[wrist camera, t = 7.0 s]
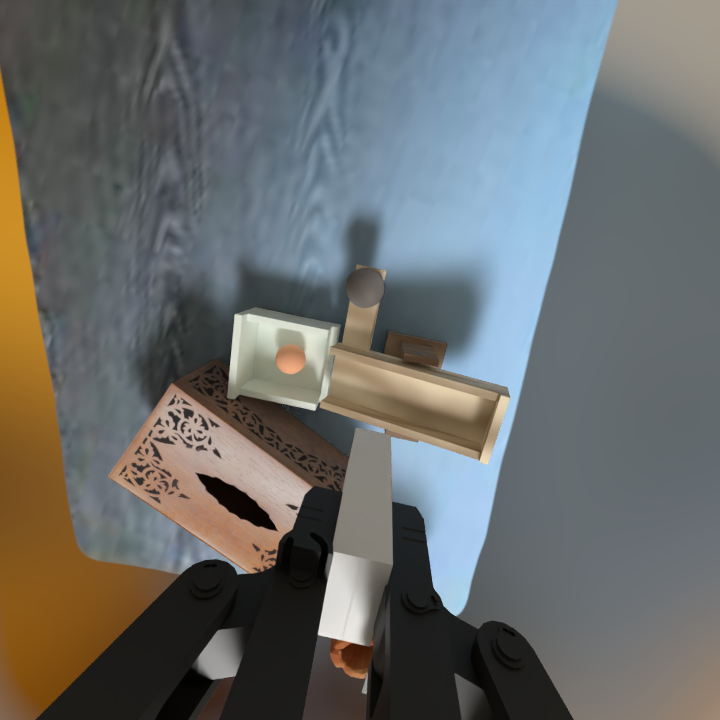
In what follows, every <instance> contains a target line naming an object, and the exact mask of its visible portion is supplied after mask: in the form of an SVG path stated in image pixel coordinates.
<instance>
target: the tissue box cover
mask: <svg viewBox="0 0 720 720" xmlns="http://www.w3.org/2000/svg"><path fill="white" fill-rule="evenodd" d="M229 372H230V367H229V366H227V365H226V364H225V363H223V362H222V361H221V360H219V359H218V358H216V359H214V360H212V361H211V362H209V363H207V364H205V365H203V366H202V367H200V368H198V369H196V370H194V371H193V372H191V373H189V374H187V375H185V376H184V377H182V378H180V379H178V380H176V381H175V382H173V383H172V384H171V385H170V387H169V388H168V389H167V391H166V392H165V394H164V395H163V397H162V398H161V400H160V401H159V403H158V404H157V406H156V407H155V408H154V410H153V411H152V413H151V414H150V416H149V417H148V419H147V420H146V422H145V423H144V425H143V426H142V427H141V429H140V430H139V432H138V433H137V435H136V436H135V438H134V439H133V441H132V442H131V444H130V445H129V447H128V448H127V449H126V451H125V452H124V454H123V455H122V457H121V458H120V460H119V461H118V463H117V464H116V466H115V467H114V468H113V470H112V471H111V473H110V474H109V476H108V477H109V478H111V479H112V480H114V481H115V482H117V483H118V484H120V485H121V486H122V487H124V488H125V489H127V490H128V491H130V492H131V493H133V494H134V495H136V496H137V497H138V498H140V499H141V500H143V501H144V502H146V503H147V504H149V505H150V506H152V507H153V508H154V509H156V510H157V511H159V512H160V513H162V514H163V515H165V516H166V517H168V518H169V519H170V520H172V521H173V522H175V523H176V524H178V525H179V526H181V527H182V528H184V529H185V530H186V531H188V532H189V533H191V534H192V535H194V536H195V537H197V538H198V539H200V540H201V541H202V542H204V543H205V544H207V545H208V546H210V547H211V548H213V549H214V550H216V551H217V552H219V553H220V554H221V555H223V556H224V557H226V558H227V559H229V560H230V561H232V562H233V563H235V564H236V565H237V566H239V567H240V568H242V569H243V570H245V571H246V572H248V573H249V574H251V573H257V572H262V571H264V570H267V569H269V568H271V567H272V566H274V565H275V563H276V557H277V551H278V545H279V541H280V540H281V539H282V537H283V536H284V534H286V533H288V532H289V531H291V530H292V529H293V526H294V523H295V521H296V518H297V515H298V512H299V509H300V507H301V504H302V501H303V498H304V495H305V494H306V493H307V492H308V491H309V490H310V489H311V488H312V487H314V486H318V487H322V488H327V489H331V490H336V491H340V492H342V490H343V485H344V480H345V475H346V471H347V466H348V461H349V458H348V457H347V456H346V455H344V454H343V453H342V452H340V451H339V450H338V449H336V448H335V447H334V446H332V445H331V444H330V443H329V442H327V441H326V440H325V439H323V438H322V437H321V436H319V435H318V434H317V433H315V432H314V431H313V430H311V429H310V428H309V427H308V426H306V425H305V424H304V423H302V422H301V421H300V420H298V419H297V418H296V417H294V416H293V415H292V414H290V413H289V412H288V411H286V410H285V409H284V408H283V407H281V406H280V405H279V404H277V403H276V402H272V401H267V400H263V399H258V398H253V397H248V396H244V395H238V396H237V397H236V398H235V399H230V398H227V393H228V382H229ZM233 485H234V486H233ZM235 486H236V487H237V488H236V487H235ZM240 490H241V491H240ZM242 491H243V492H244V493H243V492H242ZM245 493H246V494H247V495H248V496H247V495H246V494H245ZM254 500H255V501H254ZM256 501H257V502H256Z"/></svg>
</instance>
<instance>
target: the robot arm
mask: <svg viewBox="0 0 720 720" xmlns="http://www.w3.org/2000/svg"><path fill="white" fill-rule="evenodd" d="M318 635H321V636H325V637H330V638H334V639H338V640H343V641H347V642H351V643H356V644H360V645H364V646H369V647H370V644H371V641H372V637H373V653H372V657H371V661H370V664H369V668H368V671H367V675H366V678H365V682H364V686H363V690H362V693H365V694H366V693H367V700H366V719H365V720H573V718H572V716H571V714H570V713H569V711H568V709H567V707H566V705H565V704H564V702H563V700H562V699H561V697H560V695H559V693H558V691H557V690H556V688H555V686H554V685H553V683H552V681H551V679H550V678H549V676H548V674H547V672H546V671H545V669H544V667H543V665H542V664H541V662H540V660H539V658H538V657H537V655H536V653H535V651H534V650H533V648H532V647H531V646H530V644H529V643H528V642H527V640H526V639H525V638H524V637H523V636H522V635H521V634H520V633H519V632H517V631H516V630H515V629H514V628H512V627H510V626H508V625H506V624H504V623H502V622H497V621H489V622H486V623H484V624H483V625H482V626H481V627H480V628H479V629H477V628H475V627H473V626H471V625H470V624H468V623H466V622H464V621H462V620H460V619H459V618H457V617H456V616H454V615H453V614H451V613H450V612H449V611H448V610H447V609H446V608H445V607H444V606H443V603H442V601H441V598H440V596H439V595H438V594H437V592H436V591H435V590H434V588H433V583H432V576H431V569H430V561H429V554H428V547H427V540H426V534H425V525H424V519H423V517H422V516H421V514H420V513H419V511H418V509H417V508H416V507H413V506H409V505H404V504H400V503H395V502H392V477H391V435H388V434H384V433H379V432H374V431H370V430H365V429H361V428H356V429H355V434H354V438H353V443H352V448H351V452H350V457H349V461H348V466H347V471H346V475H345V480H344V485H343V490H342V492H340V491H336V490H331V489H327V488H322V487H318V486H314V487H312V488H311V489H310V490H309V491H308V492H307V493H306V494H305V495H304V498H303V501H302V504H301V507H300V509H299V512H298V515H297V518H296V521H295V523H294V526H293V529H292V530H291V531H289V532H288V533H286V534H284V536H283V537H282V539H281V540H280V541H279V545H278V551H277V557H276V563H275V565H274V566H272V567H271V568H269V569H267V570H264V571H262V572H257V573H251V574H239V575H237V572H236V570H235V568H234V567H233V566H231V565H230V564H229V563H228V562H225V561H221V560H217V559H214V560H204V561H201V562H199V563H196V564H194V565H192V566H191V567H189V568H188V569H187V570H185V571H184V572H183V573H182V574H181V575H180V576H179V577H178V578H177V579H176V580H175V581H174V582H173V583H172V584H171V585H170V586H169V587H168V588H167V589H166V590H165V591H164V592H163V593H162V594H161V595H160V596H159V597H158V598H157V599H156V600H155V601H154V602H153V603H152V604H151V605H150V606H149V607H148V608H147V609H146V610H145V611H144V612H143V613H142V614H141V615H140V616H139V617H138V618H137V619H136V620H135V621H134V622H133V623H132V624H131V625H130V626H129V627H128V628H127V629H126V630H125V631H124V632H123V633H122V634H121V635H120V636H119V637H118V638H117V639H116V640H115V641H114V642H113V643H112V644H111V645H110V646H109V647H108V648H107V649H106V650H105V651H104V652H103V653H102V654H101V655H100V656H99V657H98V658H97V659H96V660H95V661H94V662H93V663H92V664H91V665H90V666H89V667H88V668H87V669H86V670H85V671H84V672H83V673H82V674H81V675H80V676H79V677H78V678H77V679H76V680H75V681H74V682H73V683H72V684H71V685H70V686H69V687H68V688H67V689H66V690H65V691H64V692H63V693H62V694H61V695H60V696H59V697H58V698H57V699H56V700H55V701H54V702H53V703H52V704H51V705H50V706H49V707H48V708H47V709H46V710H45V711H44V712H43V713H42V714H41V715H40V716H39V717H38V718H37V719H36V720H197V718H198V717H199V715H200V714H201V712H202V710H203V709H204V707H205V706H206V704H207V702H208V701H209V700H210V698H211V696H212V695H213V693H214V692H215V690H216V688H217V686H218V685H219V684H220V682H221V681H222V679H223V678H226V677H232V676H235V678H234V681H233V684H232V687H231V689H230V692H229V695H228V698H227V700H226V703H225V706H224V709H223V711H222V714H221V717H220V719H219V720H302V716H303V711H304V706H305V700H306V695H307V690H308V684H309V679H310V674H311V668H312V662H313V657H314V652H315V646H316V641H317V636H318Z"/></svg>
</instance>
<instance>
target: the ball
mask: <svg viewBox="0 0 720 720" xmlns="http://www.w3.org/2000/svg"><path fill="white" fill-rule="evenodd" d="M275 360H276V365H277V367H278V368H279V369H280V370H281V371H282V372H284V373H287V374H295V373H297V372H299V371H300V370H301V369H302V368H303V367H304V365H305V362H306V357H305V353H304V352H303V350H302V349H301V348H300V347H298V346H296V345H292V344H289V345H285V346H283V347H281V348H280V349H279V350H278V352H277V354H276V358H275Z"/></svg>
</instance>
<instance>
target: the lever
mask: <svg viewBox="0 0 720 720" xmlns="http://www.w3.org/2000/svg"><path fill="white" fill-rule="evenodd" d="M385 276H386V270H381V269H376V268H372V267H367V266H362V265H356V270H355V271H354V272H353V273H352V274H351V275H350V276H349V278H348V280H347V283H346V293H347V296H348V298H349V300H350V302H349V308H348V313H347V319H346V324H345V329H344V335H343V340H342V342H340V343H338V344H335V345H333V346H331V347H330V351H329V354H331V355H335V360H334V366H333V371H332V377H331V383H330V388H329V394H328V396H327V397H325V398H324V399H323V400H321V403H320V408H323V409H326V410H329V411H332V412H335V413H338V414H341V415H344V416H347V417H350V418H353V419H356V420H359V421H362V422H365V423H368V424H371V425H374V426H377V427H380V428H383V429H386V430H389V431H392V432H396V433H399V434H402V435H405V436H408V437H411V438H414V439H417V440H420V441H423V442H426V443H429V444H432V445H435V446H438V447H441V448H444V449H447V450H450V451H453V452H456V453H459V454H462V455H465V456H468V457H471V458H474V459H477V460H479V462H480V463H483V464H486V465H488V463H489V460H490V457H491V454H492V451H493V448H494V445H495V442H496V439H497V436H498V433H499V430H500V427H501V424H502V421H503V418H504V415H505V412H506V409H507V406H508V403H509V400H510V395H509V391H508V388H507V387H504V386H500V385H497V384H493V383H489V382H486V381H482V380H478V379H475V378H471V377H467V376H464V375H460V374H456V373H453V372H449V371H445V370H442V369H438V368H434V367H431V366H427V365H423V364H419V363H415V362H411V361H406V360H403V359H401V358H397V357H394V356H390V355H386V354H383V353H379V352H375V351H372V350H370V348H371V343H372V339H373V334H374V329H375V324H376V319H377V314H378V310H379V305H380V301H381V299H382V298H383V296H384V292H385V284H384V281H385Z"/></svg>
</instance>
